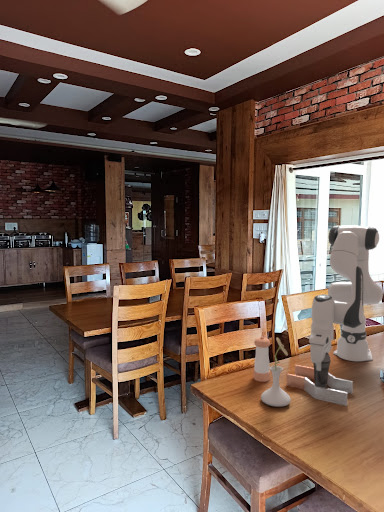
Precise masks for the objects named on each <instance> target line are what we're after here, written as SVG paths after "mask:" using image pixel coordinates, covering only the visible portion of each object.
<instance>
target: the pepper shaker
mask: <svg viewBox="0 0 384 512" xmlns="http://www.w3.org/2000/svg"><path fill="white" fill-rule="evenodd" d="M253 343H254V346H255V358H254V362H253V363H254V364H253V365H254V366H253V367H254V369H253V380H255V381H256V382H269V381H270V379H271V370H270V359H269V347H270V346H271V342H270V339H268V338H267V337H264V336H260V337H257V338H255V340H254V342H253Z"/></svg>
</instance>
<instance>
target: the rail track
mask: <svg viewBox="0 0 384 512" xmlns="http://www.w3.org/2000/svg"><path fill="white" fill-rule="evenodd" d="M311 380H313V381H315V378H314V367H311V366H304V365H299V364H295V365H294V374H292V373H287V374H286V386H287V387H291V388H296V389H301V390H303V391H305V392H306V393H308V394H309V396H311V397H312V398H314V399H316V400H320V401H323V402H328V403H332V404H335V405H340V406H345V407H347V406H348V394H350V395H353V393H354V392H353V390H354V389H353V388H354V381H353V380H348V379H343V378H339V377H336V376H334V375H333V374H331V373H330V372H328V381H327V386H328V387H327V388H325V387H320V386H317V385H315V382H312V381H311ZM329 387H330V388H329Z"/></svg>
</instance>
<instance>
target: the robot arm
mask: <svg viewBox="0 0 384 512" xmlns="http://www.w3.org/2000/svg"><path fill="white" fill-rule="evenodd" d="M379 234H380V233H379V230H378V229H377V228H375V227H371V226H362V225H341V224H340V225H333V226H332V227H331V228H330V230H329V232H328V237H327V238H328V243H329V244H330V245H331V246H332V249H331V252H330V258H329V266H330V267H331V269H332V271H334V272H335V273H336V274H337V275H339V276H341V277H343V278H345V279H347V280H349V281H337V282H331V283H330V285H329V286H328V288H327V289H328V290H327V294H317V295H315V296H314V297H313V300H312V305H311V313H310V314H311V321H312V322H311V324H310V336H309V339H308V343H310V348H309V349H310V350H309V351H310V361H311V363H312V364H313V363H316V370H317V371H321V369H322V366H321V363H322V361H323V360H324V358H325V355H326V352H327V353H328V354H329V352H331V350H332V341H334V338H335V337H334V334H335V333H334V332H335V331H334V330H335V328H334V325H335V324H336V325H341V329H340V337H339V338H338V339H337V344H336V349H335V350H334V351H333V352H332V353H333V355H335V356H337V357H338V358H340V359H343V360H346V361H350V362H365V361H373V353H372V351H371V349H369V342H368V340H367V331H366V319H367V317H366V316H365V310H364V305H367V306H369V305H376V304H379V303H380V302H381V301H382V300H383V296H384V291H383V289H382V287H381V286H380V285H379V284H378V283H376V282H375V281H374V279H372V277H371V274H370V270H369V269H370V267H369V260H370V259H369V257H370V256H369V255H370V253H369V252H370V250H374V249H375V248H377V246H378V244H379V241H380V235H379Z"/></svg>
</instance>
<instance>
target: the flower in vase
mask: <svg viewBox="0 0 384 512" xmlns="http://www.w3.org/2000/svg"><path fill="white" fill-rule="evenodd" d="M275 339H276V342H277V344H278V349H277V350H276V352H275V355H273V357H274V365H272V366H269V370H270V372H271V373H272V385H271V387H269V388H268V389H266V390H265V391H263V392H262V393H261V395H260V399H261V401H262V402H263V403H264V404H266V405H268V406H271V407H276V408H277V407H278V408H279V407H286V406H288V405H289V404H290V403H291V402H292V398H291V397H290V395H289V394H288V393H287V392H286V391H285V390H283V389H282V388H281V387H280V375H281V373H282V371H283V370H284V368H283V367H282V366H278V365H277V364H280V363H281V362H280V361H278V359H277V354H278V353H279V350H281V351H282V352H283V353H284V355H285V356H286V357H287V356H288V355H289V354H288V351H287V350H286V349H285V345H284V344H282V342H281V339H280V338H279V337H276V338H275Z"/></svg>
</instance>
